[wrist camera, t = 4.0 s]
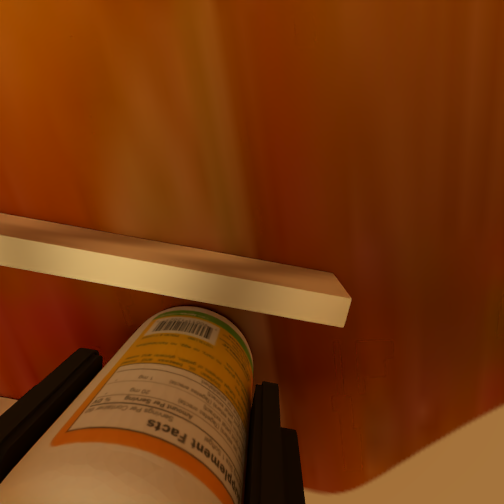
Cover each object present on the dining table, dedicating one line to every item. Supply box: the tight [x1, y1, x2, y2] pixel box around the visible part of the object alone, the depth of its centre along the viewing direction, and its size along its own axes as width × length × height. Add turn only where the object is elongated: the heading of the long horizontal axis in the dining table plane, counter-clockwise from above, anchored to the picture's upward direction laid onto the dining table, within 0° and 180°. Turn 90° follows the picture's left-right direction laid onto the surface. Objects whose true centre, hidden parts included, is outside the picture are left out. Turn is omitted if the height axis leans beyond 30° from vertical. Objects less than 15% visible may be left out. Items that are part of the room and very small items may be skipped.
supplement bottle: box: [0, 306, 253, 504], centre depth 7 cm, size 5×5×10 cm
